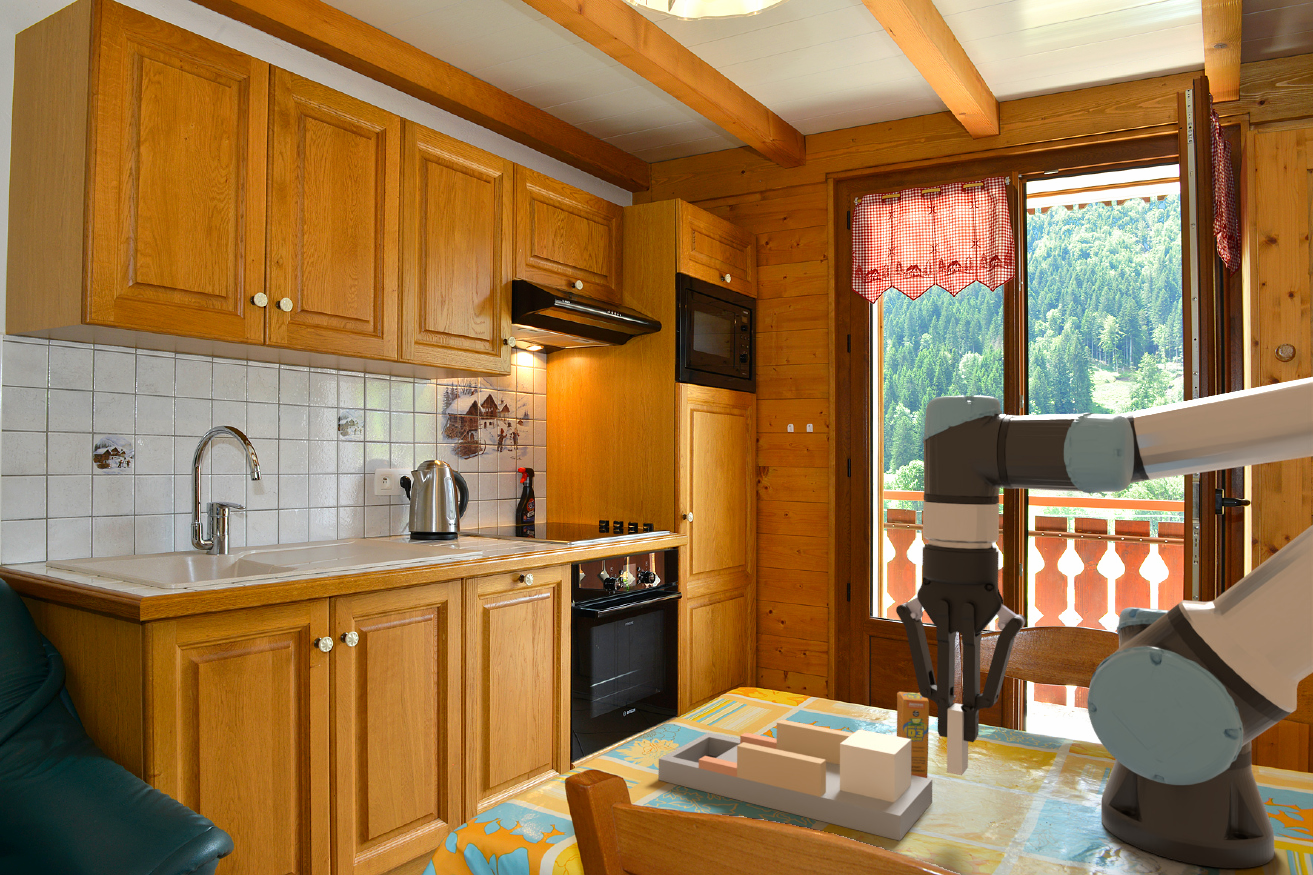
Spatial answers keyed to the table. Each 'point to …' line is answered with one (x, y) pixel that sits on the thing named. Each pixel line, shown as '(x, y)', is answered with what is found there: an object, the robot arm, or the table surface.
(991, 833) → the table surface
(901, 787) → the block
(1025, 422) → the robot arm
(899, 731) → the supplement box
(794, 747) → the tray
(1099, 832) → the table surface
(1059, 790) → the table surface
